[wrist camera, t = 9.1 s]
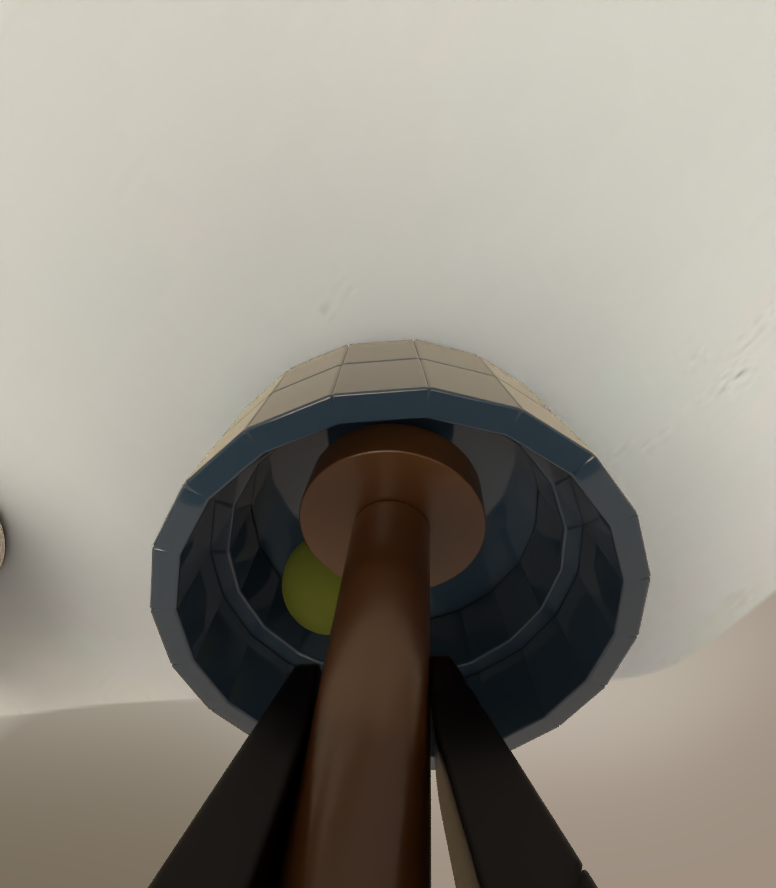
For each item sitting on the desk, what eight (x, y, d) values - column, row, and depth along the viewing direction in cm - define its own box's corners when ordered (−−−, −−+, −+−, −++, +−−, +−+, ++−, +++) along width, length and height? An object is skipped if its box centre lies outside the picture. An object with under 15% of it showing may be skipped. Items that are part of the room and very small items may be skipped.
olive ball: (379, 585, 16) (393, 649, 13) (292, 599, 15) (286, 667, 12) (372, 507, 15) (385, 557, 12) (278, 519, 14) (268, 574, 11)
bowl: (551, 622, 17) (613, 760, 13) (259, 640, 17) (215, 783, 13) (581, 321, 12) (697, 366, 8) (184, 352, 13) (73, 413, 8)
